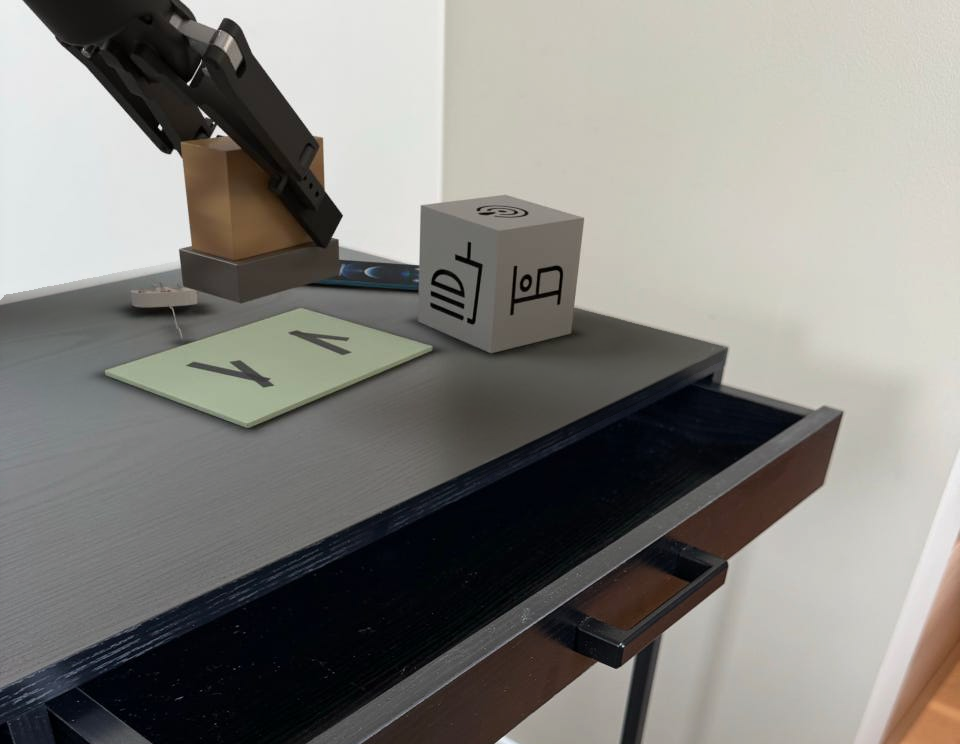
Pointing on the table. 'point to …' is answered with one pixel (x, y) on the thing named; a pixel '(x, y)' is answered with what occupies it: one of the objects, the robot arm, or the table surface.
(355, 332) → the marker board
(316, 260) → the eraser
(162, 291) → the game controller
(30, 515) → the table surface
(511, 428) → the table surface
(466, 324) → the icon cube
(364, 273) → the smartphone
